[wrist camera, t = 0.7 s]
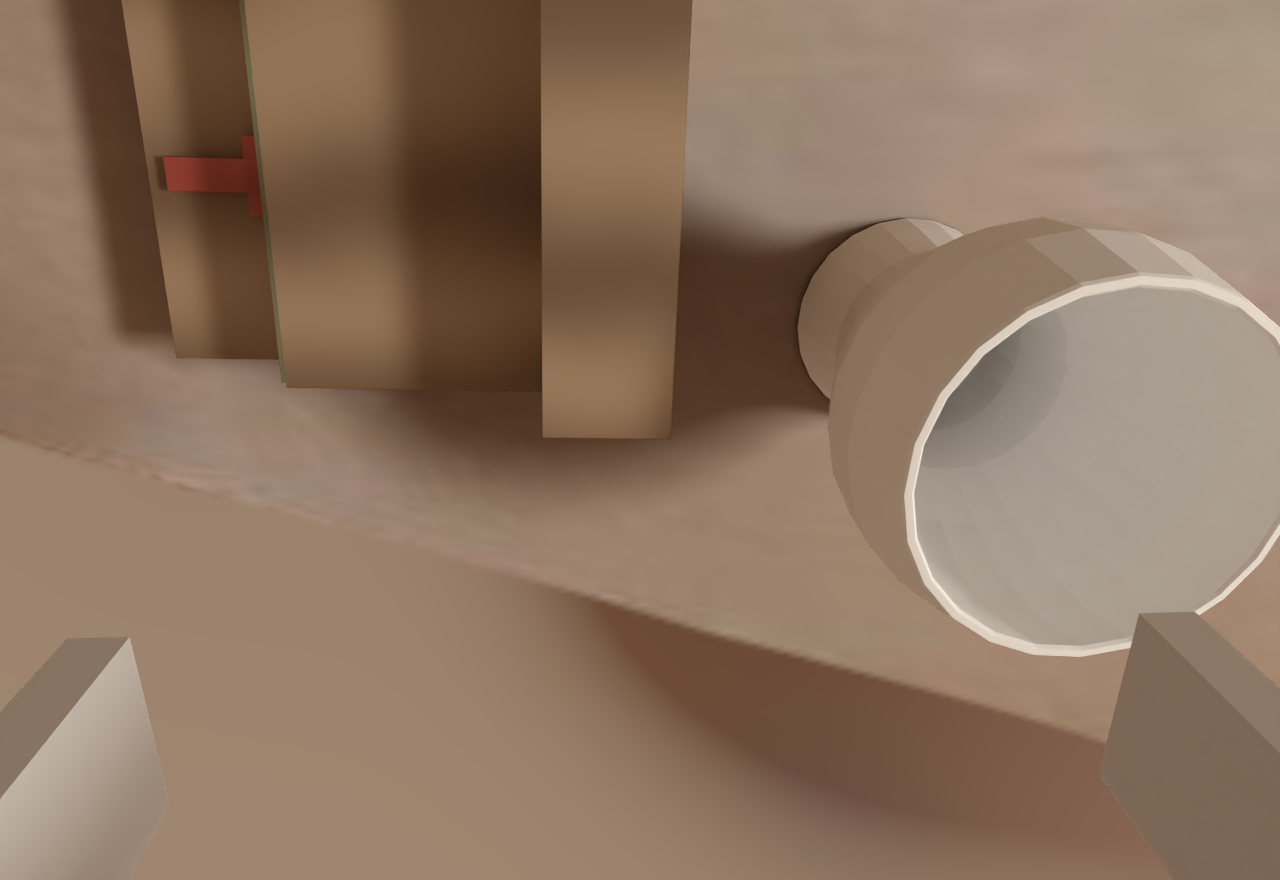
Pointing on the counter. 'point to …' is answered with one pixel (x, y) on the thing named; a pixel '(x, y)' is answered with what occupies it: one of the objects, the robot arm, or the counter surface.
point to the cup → (1047, 423)
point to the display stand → (425, 193)
